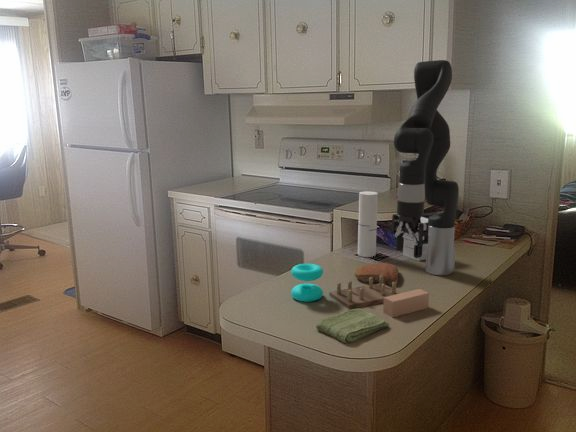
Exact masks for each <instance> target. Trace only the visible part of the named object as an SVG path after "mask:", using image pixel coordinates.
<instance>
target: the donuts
mask: <svg viewBox="0 0 576 432" xmlns="http://www.w3.org/2000/svg"><path fill="white" fill-rule="evenodd" d="M323 270H324V269H323V268H322V267H321V266H320V265H318V264H315V263H299V264H296V265H294V266H293V267H292V268H291V270H290V271H291V276H292V277H293V278H294V279H297V281H301V282H302V281H303V282H307V283H299V284H297V285H295V286H293V288H292V289H291V292H290V293H291V296H292V298H293V299H294V300H297V301H299V302H303V303H304V302H305V303H306V302H307V303H308V302H309V303H310V302H315V301H318V300H320V299H321V298H322V297H323V294H324V292H323V289H322V288H321V287H320V286H319V285H318V284H313V283H309V282H313V281H316V280H319V279H320V278H322V276H323V274H324V271H323Z"/></svg>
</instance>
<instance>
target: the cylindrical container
mask: <svg viewBox="0 0 576 432" xmlns="http://www.w3.org/2000/svg"><path fill="white" fill-rule="evenodd" d="M378 194H379V193H378V192H377V191H365V190H364V191H360V192H358V227H357V230H358V231H357V255H358V256H359V257H362V258H373V256H374V257H376V254H377V253H376V252H377V226H378Z"/></svg>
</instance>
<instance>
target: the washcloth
mask: <svg viewBox="0 0 576 432" xmlns="http://www.w3.org/2000/svg"><path fill="white" fill-rule="evenodd" d="M389 326H390V324H389V322H387V321H385V319H382V318H380V317H378V316H376V314H374V313H371V312H367V311H365V310H363V309H362V308H360V307H357V308H351V309H347V310H345V311H343V312H340V313H337V314H336V315H333V316H328V317H327V318H324V319H321V320H320V321H318V322H317V324H316V326H315V328H316V330H318V331H319V332H322V333H324V334H326V336H331V337H333V338H334V339H336V340H338V341H339V342H341V343H342V344H343V343H344V344H350V343H353V342H355V341H359V340H361V339H364V338H366V337H368V336H369V335H372V334H374V333H377V331H380V330H384V329H386V327H389Z"/></svg>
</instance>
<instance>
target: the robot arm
mask: <svg viewBox="0 0 576 432" xmlns="http://www.w3.org/2000/svg"><path fill="white" fill-rule="evenodd" d="M413 71H414V72H413V81H414V87H415V93H416V99H417V100H415V102H414V103H413V104H412V106H411V109H410V112H409V114H408V117H407V119H405V121H403V123H402V124H401V125H400V126H399V127H398V129H396V130H397V131H396V132H395V134H394V137H393V145H394V148H395V150H396V151H398V152H399V153H402V154H417V155H418V156H417V158H416V159H414V160H408V161H405V162H401V164H399V165H400V166H399V175H398V176H399V178H398V180H399V181H398V187H397V199H396V201H397V205H396V206H397V207H396V214H392V217H391V234H392V235H394V237H395V249H396V250H397V251H403V247H404V235H405V233H407V234H409V235H410V237H411V238H412V239H413V241H414V244H415V245H414V257H415V258H419V257H421V256H422V246H423V244H427V251H426V259H425V269H424V270H425V272H426V273H427V274H430V275H436V276H448V275H451V274H452V273H454V272H455V263H456V251H457V250H456V246H455V245H454V244H455V243H454V241H455V230H456V229H455V228H456V219H457V208H458V202H459V191H460V190H459V184H458V183H457V182H456V181H453V180H445V179H438V177H437V173H438V169H439V167H440V165H441V163H442V161H443V160H444V159H445V157H446V156H447V154H448V153H449V151H450V149H451V134H450V133H451V132H450V131H451V130H450V125H449V124H448V121H446V119H445V118H444V116H443V115H442V113H440V111H438V108H439V106H440V104H441V103H442V102H443V99H444V97H445V96H446V94H447V93H448V90H449V89H450V86H451V84H452V80H453V69H452V64H451V63H450V61H448V60H446V59H445V60H444V59H438V60H427V61H419V62H417V63H416V64H415V66H414V69H413ZM425 203H426V204H427V205H429V206H434V207H443V208H444V210H443V212H441V213H436V214H433V215H430V216H428V218H427V219H428V223H421V217H424V215H425V212H424V211H425ZM417 232H418V234H416V233H417ZM423 236H424V240H423ZM417 238H419V241H418V240H417Z"/></svg>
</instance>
